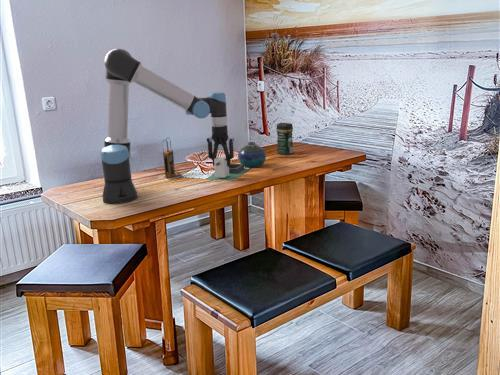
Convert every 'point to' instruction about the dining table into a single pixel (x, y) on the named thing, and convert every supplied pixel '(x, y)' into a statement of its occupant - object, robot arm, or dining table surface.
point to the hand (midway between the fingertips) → (222, 172)
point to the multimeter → (169, 162)
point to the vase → (252, 155)
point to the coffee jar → (284, 138)
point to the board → (231, 173)
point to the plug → (220, 167)
